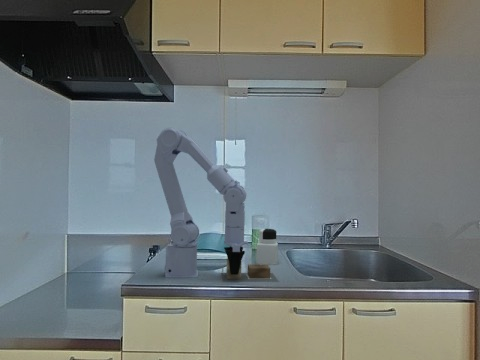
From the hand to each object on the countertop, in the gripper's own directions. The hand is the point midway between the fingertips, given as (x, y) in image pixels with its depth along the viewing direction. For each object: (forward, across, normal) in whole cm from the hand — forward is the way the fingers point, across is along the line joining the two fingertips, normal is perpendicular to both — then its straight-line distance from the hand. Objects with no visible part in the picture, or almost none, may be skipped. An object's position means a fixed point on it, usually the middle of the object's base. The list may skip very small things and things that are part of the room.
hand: (233, 272), depth 139 cm
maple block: (+1, 0, 0) cm, 1 cm away
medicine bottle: (+2, +24, -14) cm, 28 cm away
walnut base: (+1, +1, -8) cm, 8 cm away
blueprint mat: (+2, 0, -4) cm, 5 cm away
